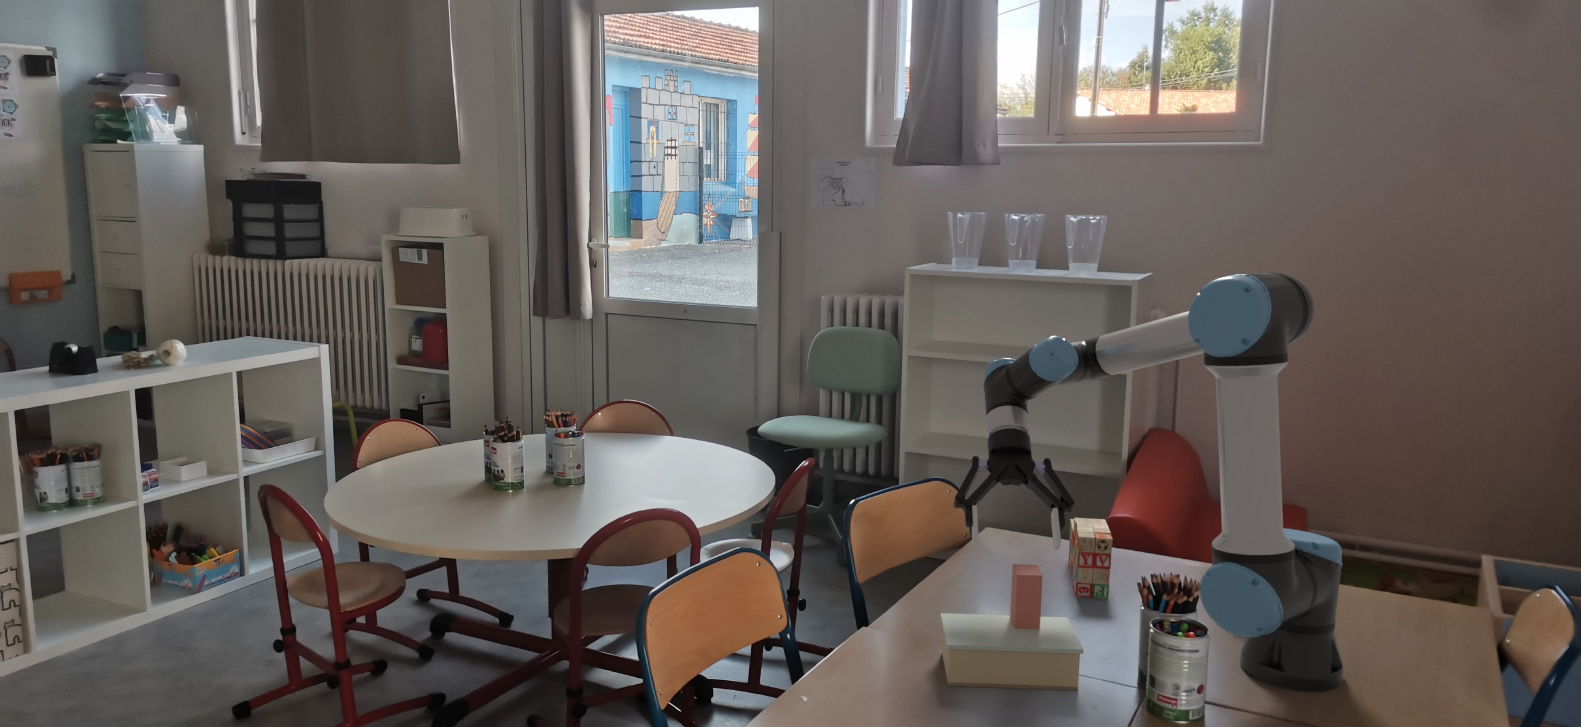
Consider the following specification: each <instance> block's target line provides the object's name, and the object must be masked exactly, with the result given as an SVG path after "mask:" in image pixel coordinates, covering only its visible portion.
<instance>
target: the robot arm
mask: <svg viewBox="0 0 1581 727" xmlns="http://www.w3.org/2000/svg"><path fill="white" fill-rule="evenodd" d="M1314 317H1315V301H1314V298H1313V296H1312V294H1311V292H1310V290H1309V288H1307V286H1306V285H1305V284H1304V283H1303V282H1302V281H1300V280H1299V279H1297V278H1296V277H1293V276H1292V275H1290V274H1287V273H1282V272H1265V273H1251V274H1250V273H1249V274H1245V273H1243V274H1241V273H1240V274H1239V273H1236V274H1231V275H1227V276H1223V277H1219V278H1216V279H1214V280H1212V281H1210V282H1208V283H1207V284H1205V285H1204V286H1203V287H1202V288H1201V289H1200V290H1199V292H1197V293H1196V295H1195V296H1194V298H1193V299H1192V301H1191V304H1190V307H1189V309H1188V311H1184V312H1180V313H1177V314H1173V315H1171V316H1167V317H1163V318H1159V319H1155V320H1152V321H1148V322H1145V323H1142V324H1139V325H1135V326H1131V327H1128V328H1124V329H1121V330H1117V331H1113V332H1110V333H1109V332H1108V333H1105V334H1102V335H1100V336H1099V335H1098V336H1095V337H1090V338H1088V339H1087V338H1086V339H1083V340H1078V341H1073V342H1070V341H1069V340H1068V339H1066V338H1064V337H1063V338H1061V336H1060V335H1051V336H1049V337H1047V338H1045V339H1043V340H1041V341H1039V342H1037V343H1035V345H1033V346H1032V348H1030V349H1028V350H1027V351H1026V352H1025V353H1023V354H1022V355H1021V356H1019V357H1018V358H1016V359H1015V358H1011V357H1002V358H999V359H997V360H991V361H990V362H989V363H987V365H986V366H985V368H984V372H983V373H984V374H983V375H984V376H983V384H982V385H983V386H982V388H983V391H984V404H985V416H986V418H985V419H986V436H987V452H988V453H987V454H988V458H987V459H981V458H980V457H979V456H977V455H974V456H972V458H971V462H970V469H969V471H968V473H967V474H966V476H965V478H964V480H963V481H962V484H961V485H960V487H959V489H958V491H957V492H956V494H955V497H954V501H953V507H954V508H956V509H961V510H963V513H964V524H965V527H966V528H971V541H972V542H971V543H972V544H971V545H972V548H978V545H979V541H980V540H979V538H980V537H979V536H980V535H979V521H978V520H979V518H978V517H979V516H978V504H979V503H980V501H982V499H983V498H984V497H985V496H987V494H988V493H989V492H990V491H991V490H992V488H993V489H994V488H995V486H996V485H997V484H998V483H999V484H1001V486H1009V485H1013V486H1016V487H1017V486H1019V487H1020V486H1021V485H1024V486H1025V487H1026V488H1027V489H1028V490H1031V491H1032V492H1033V494H1035V495H1036V496H1037V497H1038V498H1039V499H1040V500H1041V501H1042V502H1043V503H1044V504H1045V505H1046V506H1047V507H1048V508H1049V509H1050V510H1051V514H1050V524H1051V531H1052V532H1051V533H1052V544H1053V550H1054V551H1059V550H1060V546H1061V544H1062V538H1061V531H1064V529H1065V526H1066V518H1065V516H1066V515H1065V513H1066V512H1067V513H1069V512H1072V510H1073V507H1074V506H1075V501H1074V499H1073V497H1072V495H1071V494H1070V492H1069V491H1068V490H1067V489H1066V487H1065V486H1064V484H1063V482H1062V481H1061V480H1060V478H1059V476H1058V475H1057V473H1056V472H1055V471H1054V469H1053V465H1052V461H1051V459H1050V458H1049V457H1045V458H1044V459H1043V461H1042V460H1041V461H1035V459H1034V458H1033V456H1032V445H1031V444H1032V443H1031V437H1030V434H1031V432H1030V424H1029V423H1030V422H1029V411H1028V403H1029V402H1030V401H1032V400H1033V399H1035V398H1036V397H1038V396H1040V395H1041V394H1043V393H1044V392H1045V391H1047V390H1048V389H1050V388H1053V387H1054V388H1055V387H1059V386H1065V385H1072V384H1076V383H1082V382H1094V381H1100V380H1104V379H1105V378H1108V377H1111V376H1113V375H1118V374H1122V373H1128V372H1131V371H1135V370H1139V369H1143V368H1148V367H1152V366H1156V365H1161V364H1164V363H1169V362H1173V361H1178V360H1182V359H1186V358H1189V357H1193V356H1197V355H1202V354H1203V363H1204V364H1203V365H1204V367H1205V368H1206V369H1207V370H1208V371H1209V372H1210V373H1212V374H1213V375H1214V376H1213V377H1215V394H1216V417H1217V443H1218V464H1219V465H1218V466H1219V469H1218V470H1219V487H1220V488H1219V489H1220V512H1221V515H1220V516H1221V518H1220V519H1221V532H1220V533H1219V535H1218V536H1216V537H1215V538H1214V539H1213V540H1212V542H1211V551H1212V552H1211V553H1212V554H1211V555H1212V564H1211V565H1210V567H1208V568H1207V569H1206V572H1205V573H1204V574H1203V575H1202V577H1201V579H1200V583H1199V587H1200V586H1201V589H1200V588H1199V597H1200V601H1201V603H1202V606H1203V609H1204V610H1205V612H1206V614H1207V615H1208V617H1209V618H1210V619H1212V620H1213V621H1214V622H1215V623H1216V625H1217V627H1219V628H1221V629H1222V630H1224V631H1225V632H1226V633H1229V634H1231V635H1233V636H1236V637H1239V638H1244V639H1245V640H1244V642H1243V645H1242V646H1241V649H1240V657H1239V659H1240V660H1239V664H1240V667H1241V666H1242V667H1243V668H1244V669H1245V670H1246V671H1247V672H1248V673H1249V674H1248V673H1247V672H1246V671H1245V670H1244V669H1243V668H1242V667H1241V668H1242V669H1243V670H1244V671H1245V672H1246V673H1247V674H1248V675H1250V674H1251V675H1252V677H1253V676H1254V677H1253V678H1255V677H1256V678H1255V679H1257V678H1258V679H1257V680H1259V681H1261V680H1262V682H1264V683H1266V682H1267V684H1269V683H1270V684H1269V685H1272V686H1275V685H1276V687H1279V686H1280V687H1279V688H1283V687H1284V688H1283V689H1288V690H1294V691H1301V692H1326V691H1331V690H1333V689H1336V688H1338V687H1340V686H1341V685H1342V683H1343V678H1344V664H1343V659H1342V656H1341V652H1340V648H1339V645H1338V641H1337V637H1336V620H1337V612H1338V611H1337V610H1338V601H1339V600H1338V599H1339V593H1340V592H1339V590H1340V582H1341V575H1342V574H1341V573H1342V567H1343V562H1342V560H1343V559H1342V556H1343V555H1342V552H1343V551H1342V547H1341V545H1340V544H1339V543H1338V542H1337V541H1335V540H1334V539H1332V538H1330V537H1327V536H1324V535H1320V534H1317V533H1313V532H1308V531H1303V530H1299V529H1293V528H1284V522H1283V521H1284V519H1283V494H1282V493H1283V492H1282V490H1283V489H1282V487H1283V486H1282V468H1281V467H1282V466H1281V464H1282V463H1281V443H1280V442H1281V440H1280V439H1281V438H1280V437H1281V436H1280V414H1279V413H1280V411H1279V408H1280V407H1279V387H1278V386H1279V385H1278V383H1279V380H1278V375H1279V373H1280V372H1281V371H1282V370H1283V369H1285V367H1287V365H1288V364H1289V354H1288V353H1289V352H1288V346H1289V345H1292V344H1293V343H1294V342H1296V341H1299V340H1300V339H1301V338H1303V336H1304V335H1306V333H1307V332H1308V330H1309V329H1310V327H1311V324H1312V323H1313V320H1314ZM985 468H986V470H987V471H988V472H989V475H988V476H987V477H986V479H985V480H983V482H982V483H981V484H980V485H979V486H978V487H977V488H976V489H975V490H974V492H972V493H971V495H969V496H968V498H967V499H966V496H967V495H968V493H969V491H970V489H971V488H972V486H973V484H974V482H975V480H976V478H977V475H978V473H981V472H982V471H983V470H984V469H985ZM1035 470H1036V471H1038V472H1039V474H1040V475H1042V476H1043V478H1044V480H1045V481H1046V483H1047V484H1048V486H1049V488H1048V487H1047V486H1046V485H1045V484H1044V483H1042V481H1040V480H1039V478H1038V476H1037V475H1036V474H1035V473H1034V471H1035ZM1050 489H1051V490H1050ZM1251 675H1250V676H1251ZM1339 685H1340V686H1339ZM1330 689H1331V690H1330ZM1325 690H1326V691H1325Z"/></svg>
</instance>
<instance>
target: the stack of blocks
mask: <svg viewBox="0 0 1581 727" xmlns="http://www.w3.org/2000/svg"><path fill="white" fill-rule="evenodd" d="M1109 527H1110V526H1109V525H1108V523H1107V521H1106V519H1104V518H1102V519H1101V518H1085V517H1074V518H1069V527H1068V528H1069V530H1068V532H1069V541H1068V542H1069V543H1068V548H1069V549H1068V565H1069V570H1070V571H1069V572H1070V575H1071V579H1072V584H1073V591H1074V597H1076V598H1085V599H1086V598H1088V599H1103V600H1108V599H1109V595H1110V594H1109V592H1110V572H1111V566H1112V549H1113V542H1114V540H1113V536H1112V532H1111V530H1110V528H1109Z"/></svg>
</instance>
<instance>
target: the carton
mask: <svg viewBox="0 0 1581 727" xmlns="http://www.w3.org/2000/svg"><path fill="white" fill-rule="evenodd" d="M941 641H942V642H941V656H942V657H941V658H942V661H943V668H944V672H945V678H946V683H947V686H949V687H973V688H999V689H1000V688H1001V689H1002V688H1003V689H1021V690H1022V689H1024V690H1025V689H1026V690H1048V691H1051V690H1052V691H1054V690H1055V691H1079V680H1080V679H1079V677H1080V661H1081V654H1071V653H1043V652H1015V651H988V650H960V649H947V647H946V642H945V637H944V632H943V631H942V639H941Z"/></svg>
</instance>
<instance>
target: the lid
mask: <svg viewBox="0 0 1581 727" xmlns="http://www.w3.org/2000/svg"><path fill="white" fill-rule="evenodd" d="M1010 591H1011V592H1010V593H1011V594H1010V610H1009V612H1010V613H1009V615H1005V614H1001V615H1000V614H979V613H977V614H975V613H946V612H945V613H944V612H940V622H941V626H942V633H943V632H944V637H945V642H946V647H947V649H960V650H988V651H1015V652H1043V653H1071V654H1080V655H1084V647H1083V645H1082V644H1081V641H1080V639H1079V637H1078V636H1077V634H1076V632H1075V630H1074V628H1073V626H1072V624H1071V622H1070V620H1069V617H1064V616H1063V617H1062V616H1061V617H1060V616H1059V617H1058V616H1041V614H1042V613H1041V611H1042V609H1041V608H1042V594H1043V593H1042V591H1043V573H1042V572H1041V570H1040V567H1039V565H1038V564H1017V563H1016V564H1015V563H1013V564H1012V572H1011V590H1010Z"/></svg>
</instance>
